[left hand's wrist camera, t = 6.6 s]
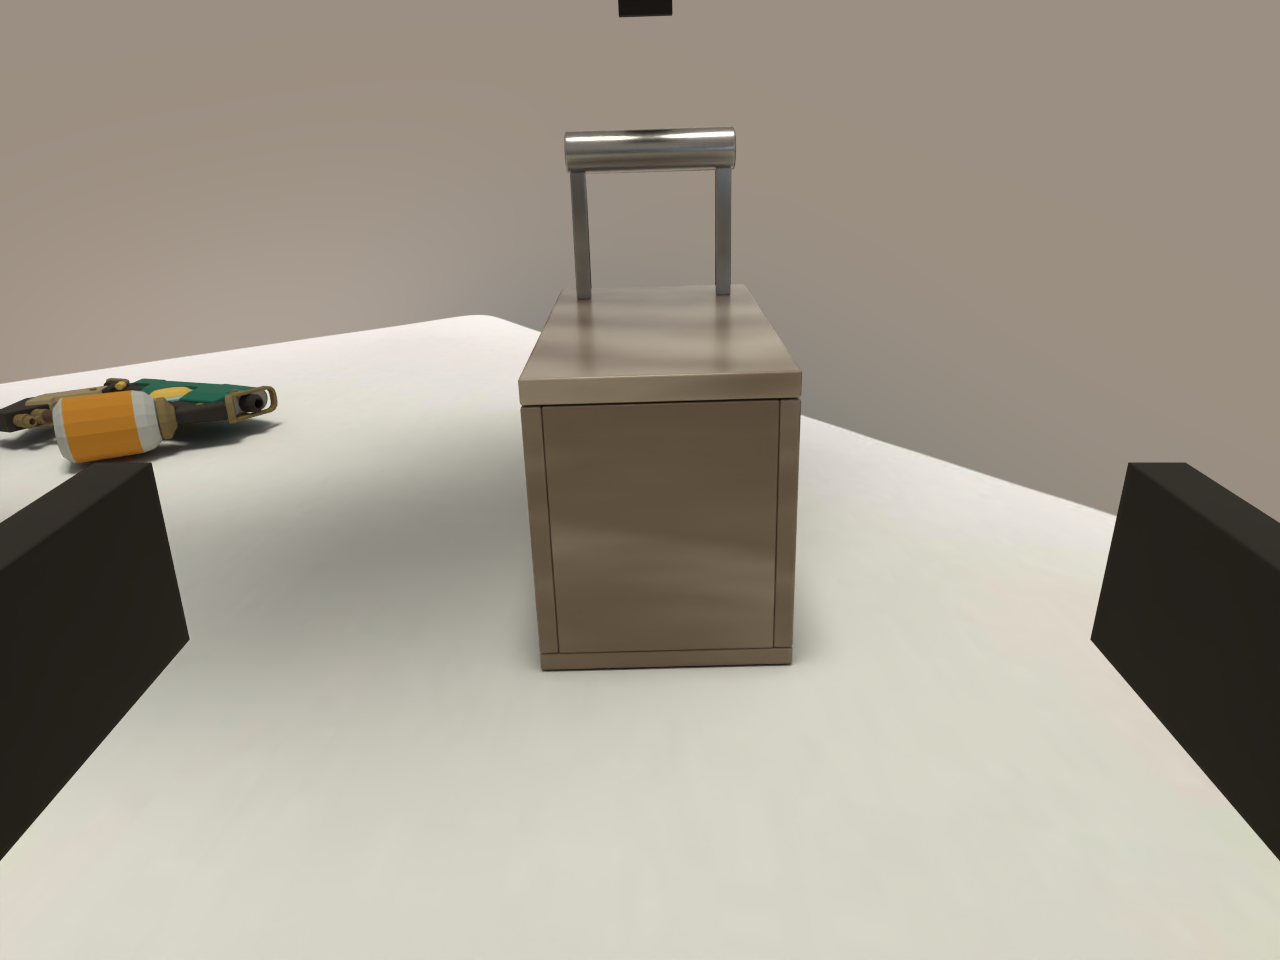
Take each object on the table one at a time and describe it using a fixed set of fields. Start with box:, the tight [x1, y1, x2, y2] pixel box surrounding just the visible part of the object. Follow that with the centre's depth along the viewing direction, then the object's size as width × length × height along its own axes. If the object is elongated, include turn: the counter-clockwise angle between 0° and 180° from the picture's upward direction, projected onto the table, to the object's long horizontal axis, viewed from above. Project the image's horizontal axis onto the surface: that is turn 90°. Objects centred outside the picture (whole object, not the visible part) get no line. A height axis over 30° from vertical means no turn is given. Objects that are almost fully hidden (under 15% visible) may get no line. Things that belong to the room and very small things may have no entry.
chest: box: [520, 397, 801, 670], centre depth 41 cm, size 17×10×10 cm, turn 0°
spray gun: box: [0, 378, 277, 463], centre depth 64 cm, size 4×17×15 cm
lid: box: [518, 126, 802, 405], centre depth 38 cm, size 18×10×9 cm, turn 0°
